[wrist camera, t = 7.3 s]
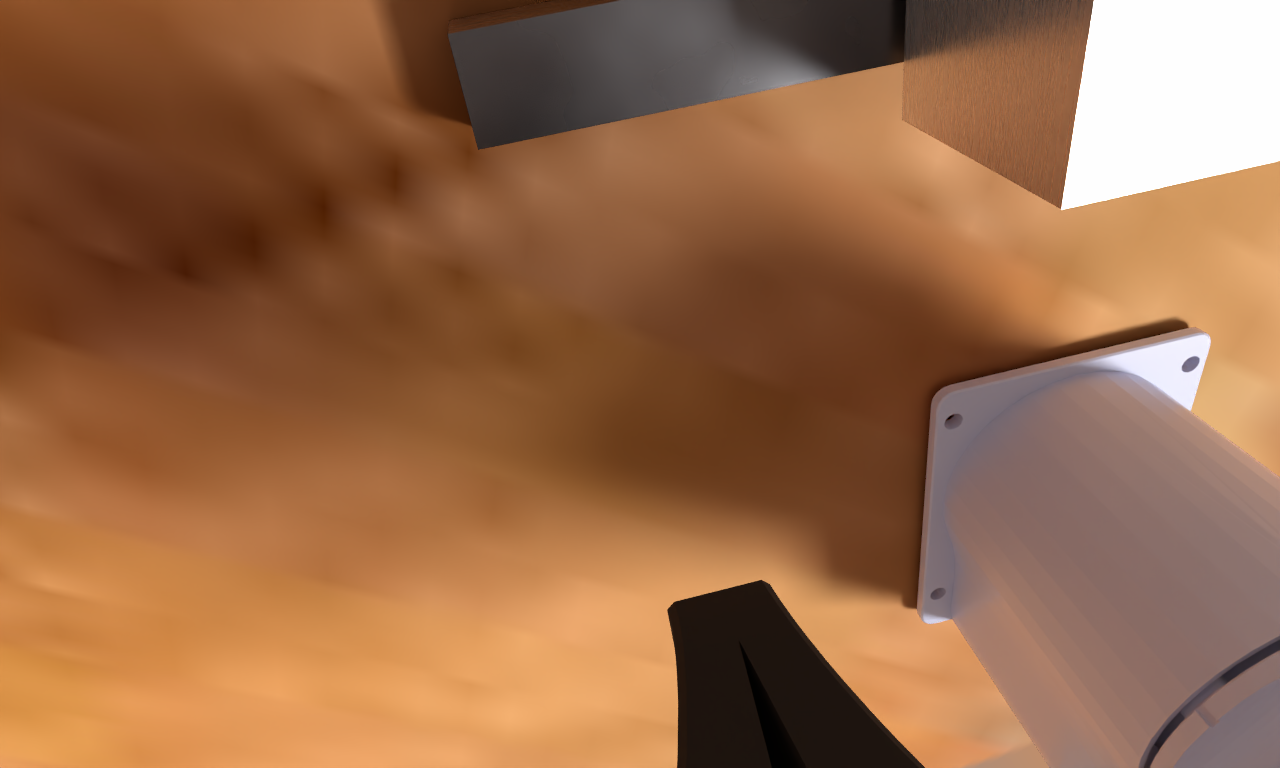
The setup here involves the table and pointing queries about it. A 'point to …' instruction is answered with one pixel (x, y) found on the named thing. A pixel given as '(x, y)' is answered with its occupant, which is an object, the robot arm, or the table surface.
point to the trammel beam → (654, 56)
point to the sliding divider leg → (1097, 89)
